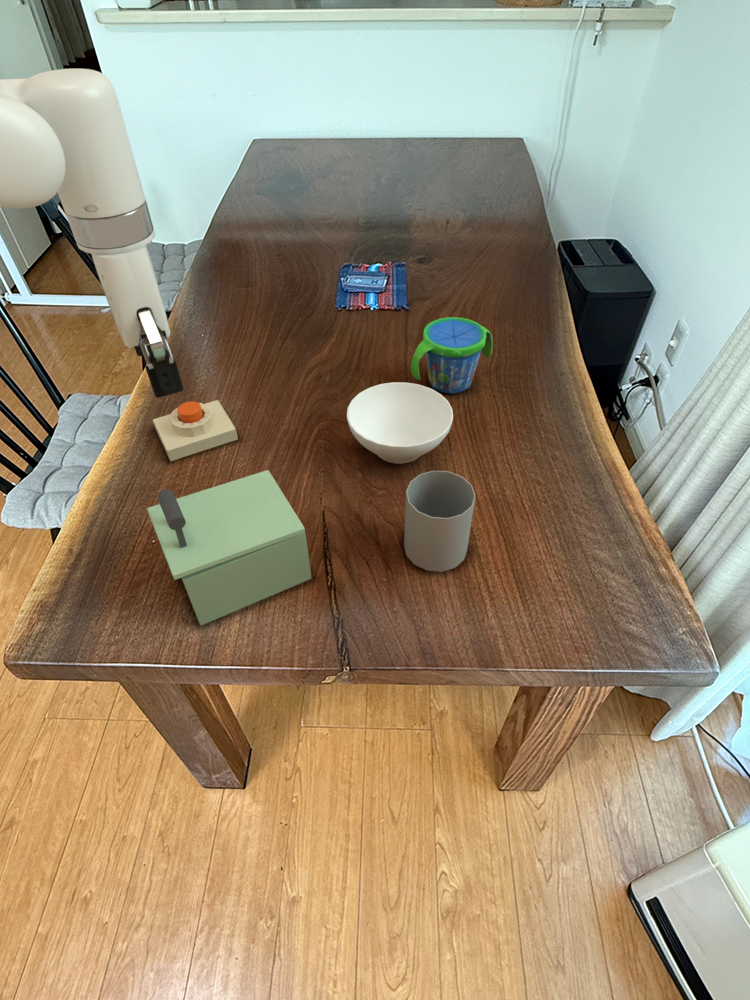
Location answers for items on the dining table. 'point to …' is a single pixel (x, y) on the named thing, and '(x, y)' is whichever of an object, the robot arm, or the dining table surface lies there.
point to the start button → (190, 412)
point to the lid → (222, 522)
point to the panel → (195, 431)
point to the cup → (438, 520)
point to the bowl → (399, 420)
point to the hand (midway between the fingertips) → (159, 372)
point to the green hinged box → (248, 578)
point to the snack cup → (452, 352)
